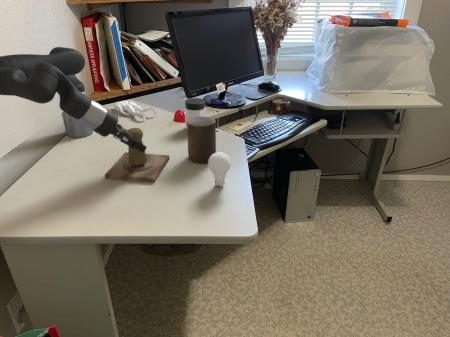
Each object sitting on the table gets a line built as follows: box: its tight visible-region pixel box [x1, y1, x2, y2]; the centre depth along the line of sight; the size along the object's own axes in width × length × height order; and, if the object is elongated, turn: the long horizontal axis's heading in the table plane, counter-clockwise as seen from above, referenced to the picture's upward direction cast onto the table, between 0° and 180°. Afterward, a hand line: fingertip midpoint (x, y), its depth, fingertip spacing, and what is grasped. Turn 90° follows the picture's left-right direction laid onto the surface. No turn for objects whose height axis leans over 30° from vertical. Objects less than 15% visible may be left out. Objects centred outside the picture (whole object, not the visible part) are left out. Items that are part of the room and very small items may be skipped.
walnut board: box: [104, 152, 170, 183], centre depth 113 cm, size 16×16×2 cm
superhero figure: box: [113, 100, 158, 122], centre depth 159 cm, size 12×6×25 cm
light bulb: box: [207, 151, 232, 187], centre depth 101 cm, size 7×7×11 cm
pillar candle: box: [186, 116, 217, 165], centre depth 117 cm, size 10×10×15 cm
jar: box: [184, 97, 207, 130], centre depth 141 cm, size 9×8×12 cm
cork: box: [127, 127, 147, 165], centre depth 109 cm, size 6×6×11 cm
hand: (141, 146), depth 110 cm, fingers closed on cork, 4 cm apart
